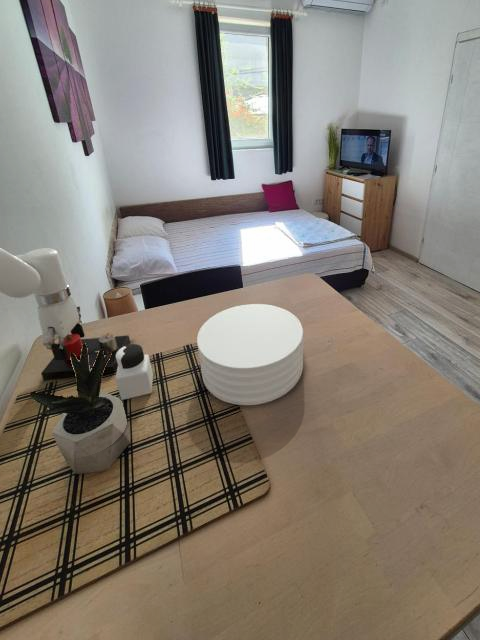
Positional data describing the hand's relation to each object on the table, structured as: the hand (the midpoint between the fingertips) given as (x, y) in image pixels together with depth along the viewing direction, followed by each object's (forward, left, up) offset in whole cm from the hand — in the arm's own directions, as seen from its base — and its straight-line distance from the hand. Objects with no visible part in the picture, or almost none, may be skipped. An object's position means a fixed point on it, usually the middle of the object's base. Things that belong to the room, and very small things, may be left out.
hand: (71, 347), depth 92 cm
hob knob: (+10, 0, -2) cm, 10 cm away
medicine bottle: (+21, -13, -5) cm, 25 cm away
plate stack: (+51, -9, -5) cm, 52 cm away
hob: (+4, 0, -5) cm, 6 cm away
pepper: (0, 0, -2) cm, 2 cm away
